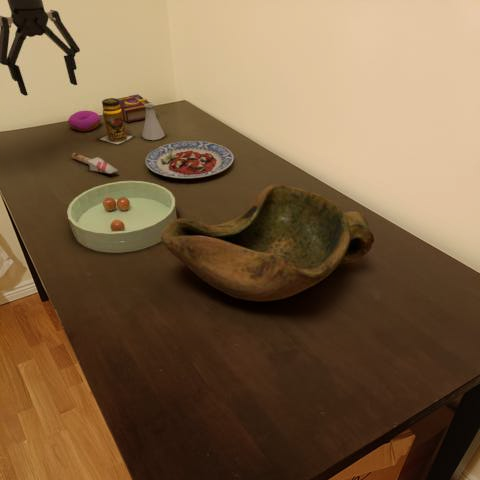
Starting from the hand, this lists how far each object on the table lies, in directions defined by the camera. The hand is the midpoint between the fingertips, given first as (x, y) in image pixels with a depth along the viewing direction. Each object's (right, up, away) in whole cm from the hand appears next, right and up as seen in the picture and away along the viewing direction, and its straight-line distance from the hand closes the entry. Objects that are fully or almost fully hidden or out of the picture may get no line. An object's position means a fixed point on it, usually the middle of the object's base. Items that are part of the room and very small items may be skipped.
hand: (49, 89), depth 113 cm
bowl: (+57, -53, -25) cm, 82 cm away
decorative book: (+11, +15, +46) cm, 50 cm away
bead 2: (+21, -32, -7) cm, 39 cm away
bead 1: (+18, -32, -8) cm, 38 cm away
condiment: (+9, -1, +29) cm, 31 cm away
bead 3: (+22, -40, -15) cm, 48 cm away
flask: (+21, 0, +31) cm, 37 cm away
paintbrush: (+7, -16, +13) cm, 22 cm away
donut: (-4, +6, +37) cm, 37 cm away
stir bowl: (+23, -38, -10) cm, 45 cm away
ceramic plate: (+35, -15, +14) cm, 41 cm away
